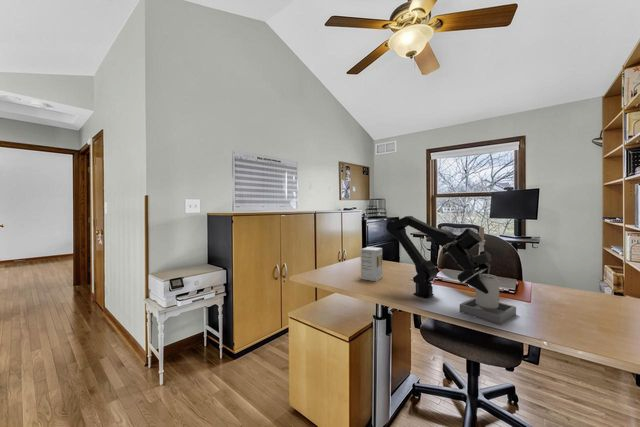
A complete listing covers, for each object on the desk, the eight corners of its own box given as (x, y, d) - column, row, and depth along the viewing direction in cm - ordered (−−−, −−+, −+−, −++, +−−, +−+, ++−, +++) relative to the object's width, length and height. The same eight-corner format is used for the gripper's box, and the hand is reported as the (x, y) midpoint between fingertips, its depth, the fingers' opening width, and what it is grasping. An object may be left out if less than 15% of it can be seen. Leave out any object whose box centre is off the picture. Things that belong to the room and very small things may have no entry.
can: (498, 312, 98) (499, 279, 97) (474, 307, 102) (475, 276, 101) (498, 305, 104) (499, 274, 103) (476, 301, 108) (477, 271, 107)
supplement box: (376, 281, 144) (376, 250, 143) (360, 279, 149) (360, 249, 148) (382, 277, 152) (382, 247, 151) (367, 275, 157) (367, 246, 156)
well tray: (459, 311, 104) (459, 304, 104) (476, 303, 112) (476, 296, 112) (500, 325, 93) (500, 316, 93) (516, 314, 101) (516, 306, 101)
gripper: (467, 247, 98) (501, 284, 91) (485, 241, 110) (517, 274, 103) (445, 264, 105) (475, 300, 97) (465, 257, 117) (493, 289, 109)
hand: (491, 290), depth 101 cm, fingers closed on can, 7 cm apart
